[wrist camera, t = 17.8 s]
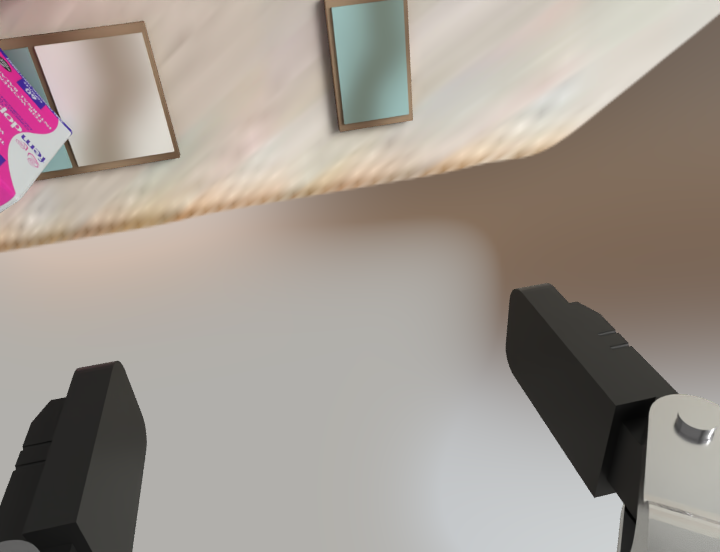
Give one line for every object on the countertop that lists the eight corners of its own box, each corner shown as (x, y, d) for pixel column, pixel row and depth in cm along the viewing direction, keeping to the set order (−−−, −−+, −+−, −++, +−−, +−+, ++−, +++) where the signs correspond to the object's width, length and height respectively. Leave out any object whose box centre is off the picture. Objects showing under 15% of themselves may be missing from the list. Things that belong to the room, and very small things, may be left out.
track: (-26, 187, 35) (-30, 192, 35) (-91, 50, 31) (-98, 53, 30) (410, 117, 39) (413, 120, 38) (403, -13, 35) (407, -12, 34)
